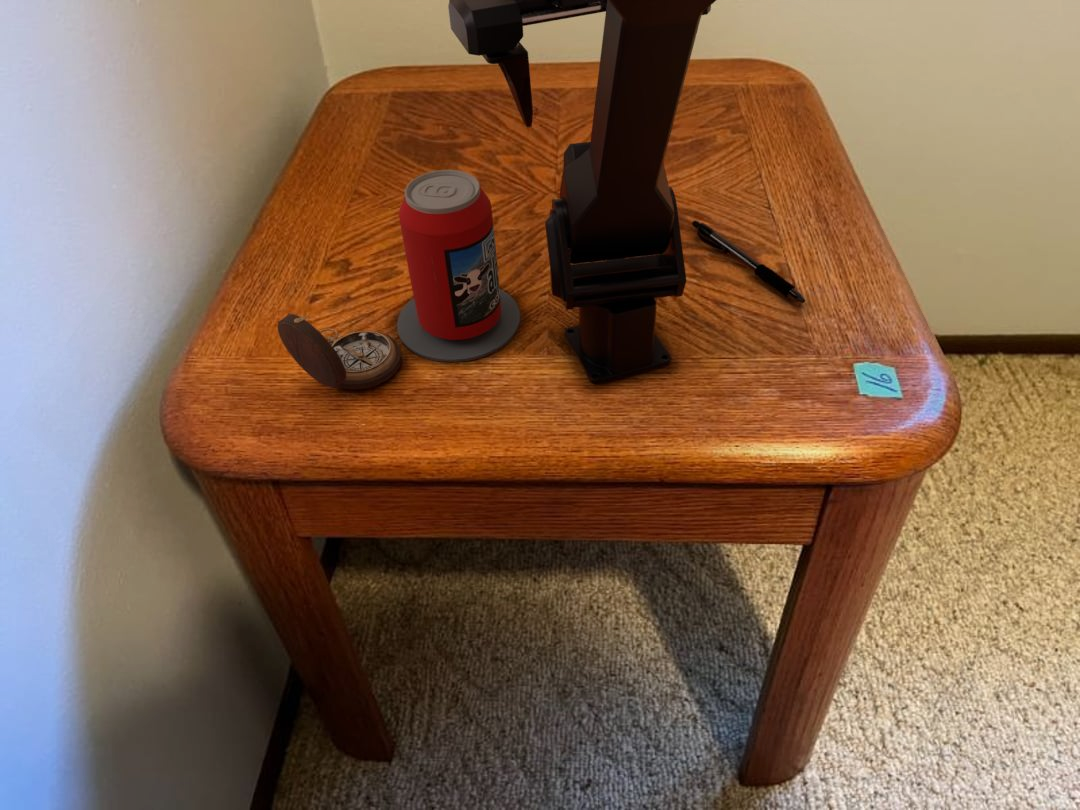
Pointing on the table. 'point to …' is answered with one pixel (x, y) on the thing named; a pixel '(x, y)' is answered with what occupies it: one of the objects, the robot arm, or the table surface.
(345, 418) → the table surface
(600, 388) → the table surface
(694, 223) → the pen
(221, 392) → the table surface
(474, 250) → the beverage can
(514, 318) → the felt coaster
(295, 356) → the compass
